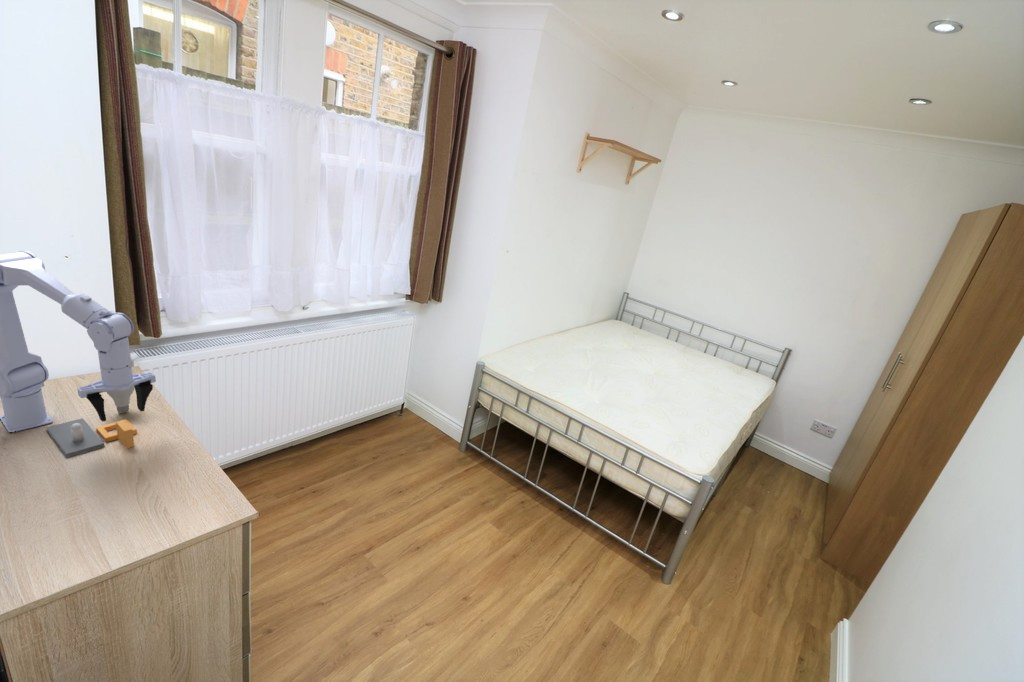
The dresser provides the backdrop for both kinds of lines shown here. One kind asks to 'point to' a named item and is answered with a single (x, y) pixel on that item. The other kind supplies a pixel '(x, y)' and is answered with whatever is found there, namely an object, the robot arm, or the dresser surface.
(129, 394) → the lightbulb
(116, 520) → the dresser surface
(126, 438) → the orange loop handle block
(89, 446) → the keeper board
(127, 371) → the robot arm
